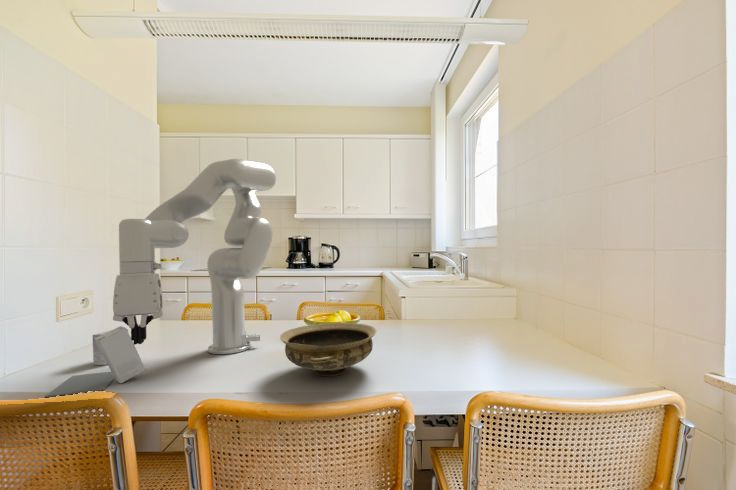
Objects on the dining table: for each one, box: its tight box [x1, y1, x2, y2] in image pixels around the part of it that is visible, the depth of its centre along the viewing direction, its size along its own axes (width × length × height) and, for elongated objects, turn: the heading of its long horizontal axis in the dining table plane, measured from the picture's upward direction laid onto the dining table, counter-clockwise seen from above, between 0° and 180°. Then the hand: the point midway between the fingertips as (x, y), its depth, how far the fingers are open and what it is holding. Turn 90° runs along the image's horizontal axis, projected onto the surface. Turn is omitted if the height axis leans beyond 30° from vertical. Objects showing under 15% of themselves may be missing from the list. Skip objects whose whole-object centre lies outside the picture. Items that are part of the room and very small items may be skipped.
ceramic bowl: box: [279, 322, 377, 377], centre depth 97 cm, size 30×24×10 cm
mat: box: [44, 371, 116, 398], centre depth 92 cm, size 11×14×1 cm
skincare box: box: [95, 326, 146, 384], centre depth 93 cm, size 6×4×12 cm
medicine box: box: [91, 328, 129, 367], centre depth 111 cm, size 8×4×9 cm, turn 168°
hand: (139, 342), depth 95 cm, fingers closed
